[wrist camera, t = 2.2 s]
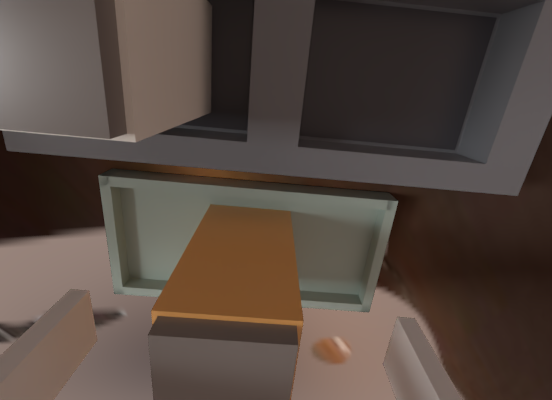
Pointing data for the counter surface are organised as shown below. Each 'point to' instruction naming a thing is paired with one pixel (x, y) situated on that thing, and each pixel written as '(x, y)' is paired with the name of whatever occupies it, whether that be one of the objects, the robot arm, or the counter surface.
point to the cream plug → (104, 66)
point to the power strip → (361, 94)
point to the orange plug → (230, 311)
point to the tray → (254, 194)
